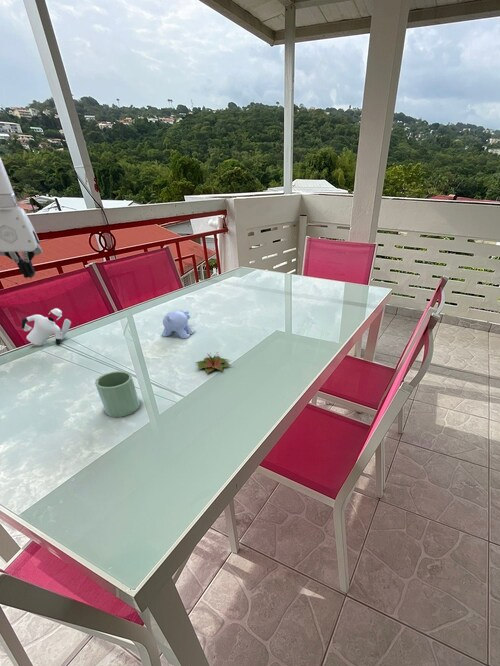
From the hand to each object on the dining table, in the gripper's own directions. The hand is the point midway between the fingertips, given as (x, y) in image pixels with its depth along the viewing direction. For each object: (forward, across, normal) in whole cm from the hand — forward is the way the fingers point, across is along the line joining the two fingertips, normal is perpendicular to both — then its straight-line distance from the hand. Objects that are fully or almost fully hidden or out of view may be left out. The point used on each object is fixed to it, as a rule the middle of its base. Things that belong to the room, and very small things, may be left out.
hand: (29, 276), depth 94 cm
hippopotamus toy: (+28, +37, +16) cm, 49 cm away
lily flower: (+28, +47, -14) cm, 56 cm away
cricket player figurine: (+27, -6, +16) cm, 32 cm away
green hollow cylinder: (+27, +21, -33) cm, 47 cm away
